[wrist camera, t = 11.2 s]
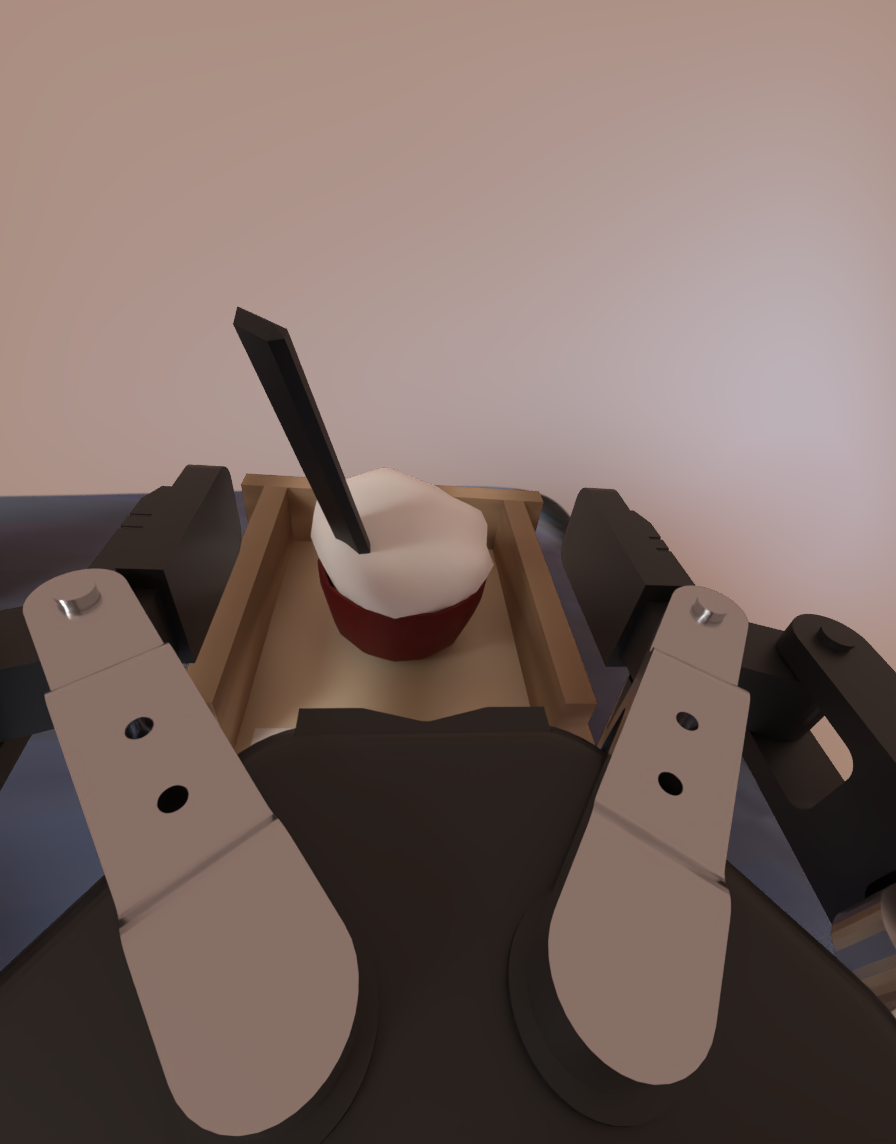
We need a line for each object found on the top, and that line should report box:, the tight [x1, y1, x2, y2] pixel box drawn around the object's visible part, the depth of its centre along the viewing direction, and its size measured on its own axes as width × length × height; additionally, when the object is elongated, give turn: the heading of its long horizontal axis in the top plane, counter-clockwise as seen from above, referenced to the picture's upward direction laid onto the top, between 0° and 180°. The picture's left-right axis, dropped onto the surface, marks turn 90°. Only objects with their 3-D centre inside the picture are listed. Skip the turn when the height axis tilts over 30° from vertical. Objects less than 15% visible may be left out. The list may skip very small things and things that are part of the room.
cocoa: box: [233, 307, 494, 662], centre depth 16 cm, size 10×6×12 cm, turn 116°
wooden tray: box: [186, 474, 598, 754], centre depth 20 cm, size 14×12×6 cm
